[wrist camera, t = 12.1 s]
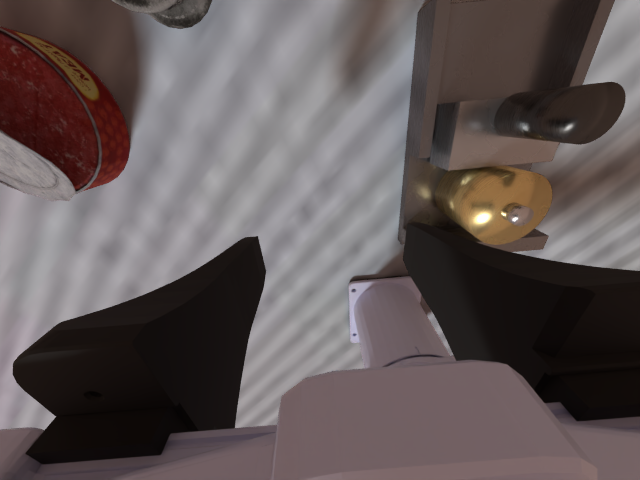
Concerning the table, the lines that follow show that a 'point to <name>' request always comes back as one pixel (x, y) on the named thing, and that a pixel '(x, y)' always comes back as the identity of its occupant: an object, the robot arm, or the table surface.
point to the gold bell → (494, 201)
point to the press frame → (488, 79)
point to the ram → (522, 125)
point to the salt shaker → (170, 10)
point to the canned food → (55, 121)
